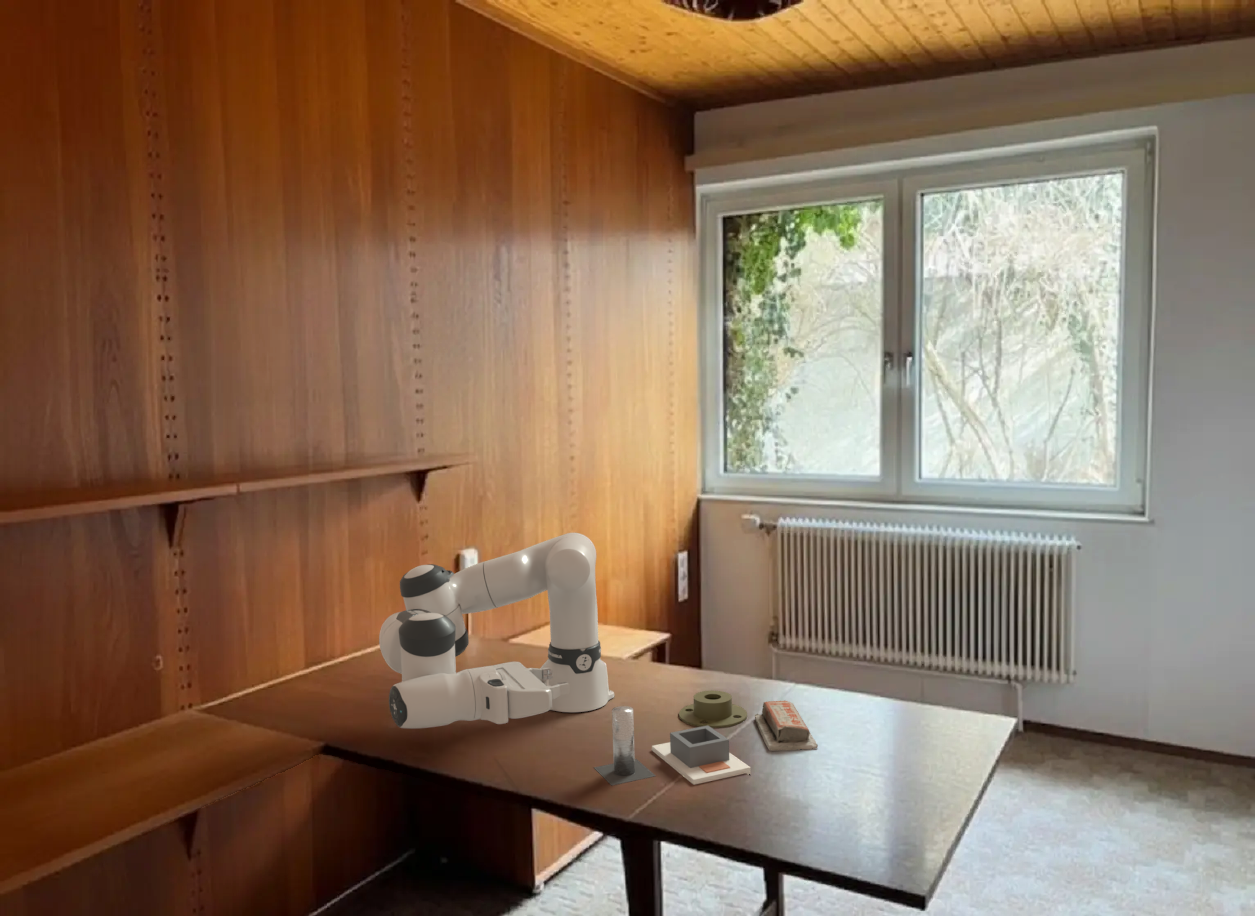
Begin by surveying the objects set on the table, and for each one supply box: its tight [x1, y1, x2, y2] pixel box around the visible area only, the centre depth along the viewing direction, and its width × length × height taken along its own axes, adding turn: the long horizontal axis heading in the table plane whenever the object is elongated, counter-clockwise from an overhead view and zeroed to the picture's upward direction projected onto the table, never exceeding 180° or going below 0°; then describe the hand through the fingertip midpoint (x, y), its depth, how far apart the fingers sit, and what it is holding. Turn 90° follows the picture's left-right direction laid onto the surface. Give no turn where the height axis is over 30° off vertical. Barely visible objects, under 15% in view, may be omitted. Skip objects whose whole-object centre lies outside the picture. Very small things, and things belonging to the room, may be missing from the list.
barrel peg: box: [611, 705, 636, 776], centre depth 177 cm, size 4×4×12 cm
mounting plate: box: [651, 725, 752, 785], centre depth 182 cm, size 18×12×6 cm, turn 24°
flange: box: [678, 689, 748, 729], centre depth 208 cm, size 5×15×15 cm
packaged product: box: [754, 700, 819, 752], centre depth 196 cm, size 18×5×10 cm
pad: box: [593, 758, 657, 787], centre depth 178 cm, size 9×9×1 cm
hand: (559, 680), depth 171 cm, fingers open, 8 cm apart
